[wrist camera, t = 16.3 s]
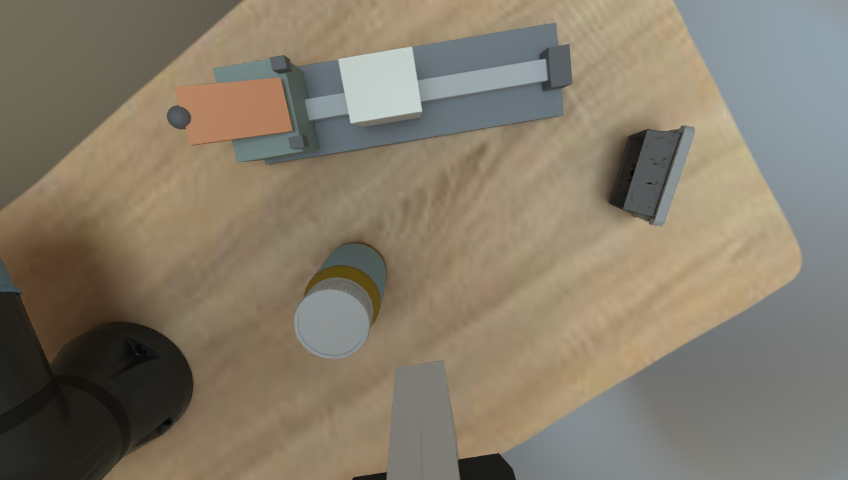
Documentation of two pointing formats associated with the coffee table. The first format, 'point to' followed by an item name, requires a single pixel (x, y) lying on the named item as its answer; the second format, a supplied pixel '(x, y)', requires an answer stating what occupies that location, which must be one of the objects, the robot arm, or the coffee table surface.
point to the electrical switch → (651, 172)
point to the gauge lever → (231, 110)
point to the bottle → (341, 302)
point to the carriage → (381, 87)
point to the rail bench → (446, 109)
